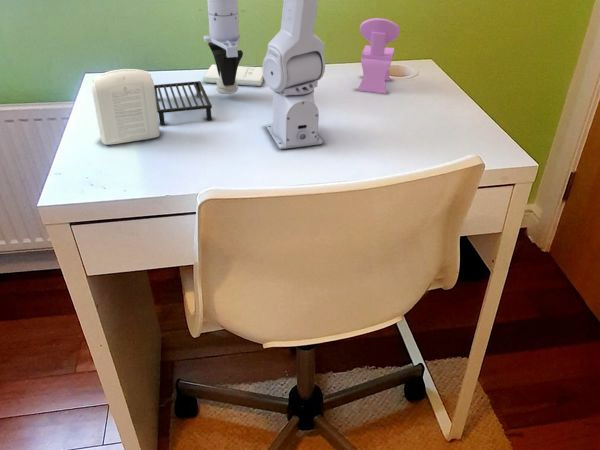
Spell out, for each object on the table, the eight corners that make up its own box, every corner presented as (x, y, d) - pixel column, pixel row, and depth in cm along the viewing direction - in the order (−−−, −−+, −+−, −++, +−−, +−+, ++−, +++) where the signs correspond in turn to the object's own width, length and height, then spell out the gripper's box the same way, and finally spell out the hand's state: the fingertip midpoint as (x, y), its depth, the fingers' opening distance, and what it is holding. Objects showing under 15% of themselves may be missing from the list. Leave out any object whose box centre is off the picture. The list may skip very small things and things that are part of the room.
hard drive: (212, 70, 127) (266, 73, 126) (204, 83, 120) (260, 86, 120) (212, 63, 126) (266, 66, 125) (203, 76, 119) (260, 79, 119)
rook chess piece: (219, 86, 116) (217, 47, 111) (240, 87, 115) (238, 49, 111) (213, 94, 112) (211, 55, 107) (235, 95, 112) (233, 56, 107)
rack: (212, 120, 105) (211, 105, 103) (159, 126, 102) (157, 111, 101) (201, 94, 115) (200, 80, 113) (152, 99, 112) (150, 85, 111)
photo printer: (157, 128, 101) (148, 62, 94) (163, 138, 98) (154, 70, 91) (99, 137, 98) (86, 69, 91) (103, 148, 95) (89, 78, 88)
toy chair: (394, 79, 125) (403, 11, 117) (391, 94, 118) (400, 22, 110) (358, 76, 127) (364, 8, 118) (352, 89, 120) (359, 18, 111)
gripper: (196, 4, 109) (201, 70, 117) (209, 23, 98) (213, 96, 106) (230, 2, 111) (233, 68, 119) (247, 21, 100) (249, 93, 108)
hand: (226, 81), depth 112 cm, fingers closed on rook chess piece, 3 cm apart
